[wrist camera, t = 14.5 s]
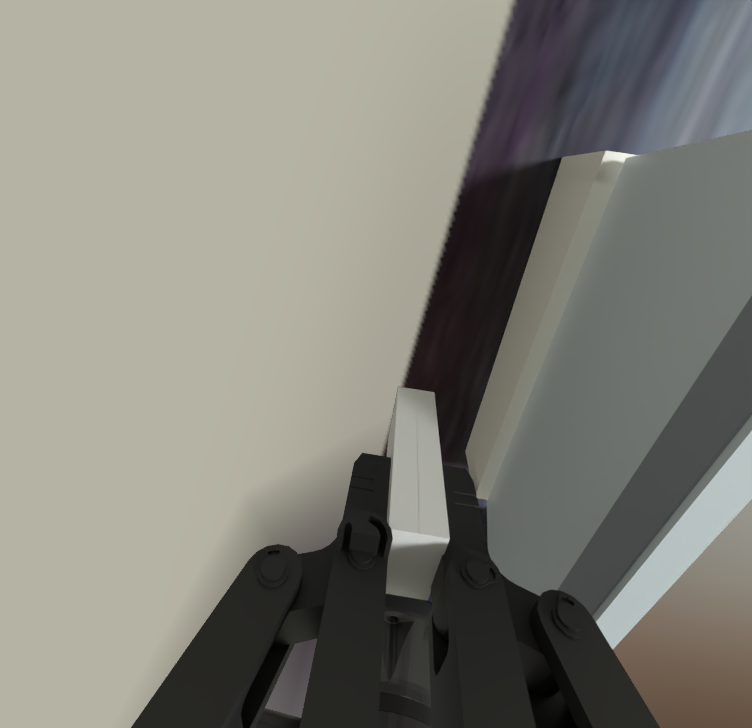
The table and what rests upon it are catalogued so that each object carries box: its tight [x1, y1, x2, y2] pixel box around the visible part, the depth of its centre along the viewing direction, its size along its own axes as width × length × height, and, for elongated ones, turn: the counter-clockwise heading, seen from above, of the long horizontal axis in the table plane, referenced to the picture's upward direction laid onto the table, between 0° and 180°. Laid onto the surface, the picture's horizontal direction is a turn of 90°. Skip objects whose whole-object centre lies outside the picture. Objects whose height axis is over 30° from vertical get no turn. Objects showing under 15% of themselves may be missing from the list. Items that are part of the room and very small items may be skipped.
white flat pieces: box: [465, 151, 638, 500], centre depth 23 cm, size 13×22×5 cm, turn 173°
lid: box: [487, 130, 752, 650], centre depth 15 cm, size 13×22×1 cm
